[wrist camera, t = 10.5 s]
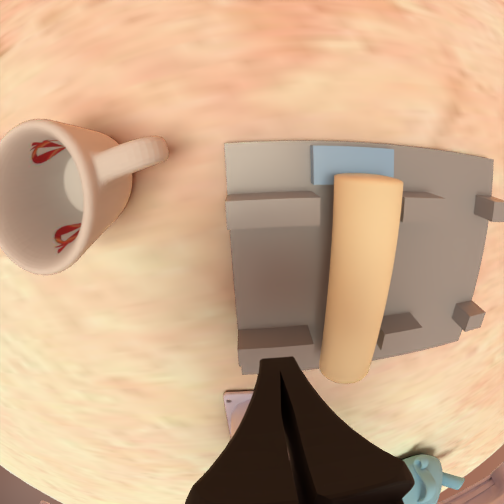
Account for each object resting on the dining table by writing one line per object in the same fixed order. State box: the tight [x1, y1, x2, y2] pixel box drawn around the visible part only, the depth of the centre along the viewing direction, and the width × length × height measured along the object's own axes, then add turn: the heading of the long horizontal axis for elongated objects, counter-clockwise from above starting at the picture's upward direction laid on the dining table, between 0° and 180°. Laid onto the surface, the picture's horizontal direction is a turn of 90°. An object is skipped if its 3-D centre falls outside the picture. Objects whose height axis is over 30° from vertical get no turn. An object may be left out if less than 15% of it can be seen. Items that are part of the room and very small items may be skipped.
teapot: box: [402, 454, 465, 504], centre depth 30 cm, size 20×20×13 cm
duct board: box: [224, 141, 504, 375], centre depth 20 cm, size 18×22×3 cm
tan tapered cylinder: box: [319, 173, 403, 384], centre depth 18 cm, size 14×4×4 cm, turn 3°
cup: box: [0, 119, 169, 275], centre depth 14 cm, size 11×8×8 cm
